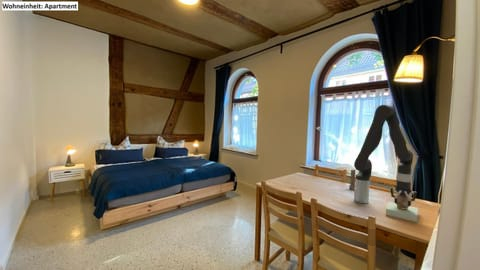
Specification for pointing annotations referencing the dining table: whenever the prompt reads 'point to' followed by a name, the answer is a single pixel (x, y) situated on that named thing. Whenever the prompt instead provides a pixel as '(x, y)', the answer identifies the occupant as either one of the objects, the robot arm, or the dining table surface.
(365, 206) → the dining table surface
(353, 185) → the wooden block
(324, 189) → the dining table surface
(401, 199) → the peg
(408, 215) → the socket block
